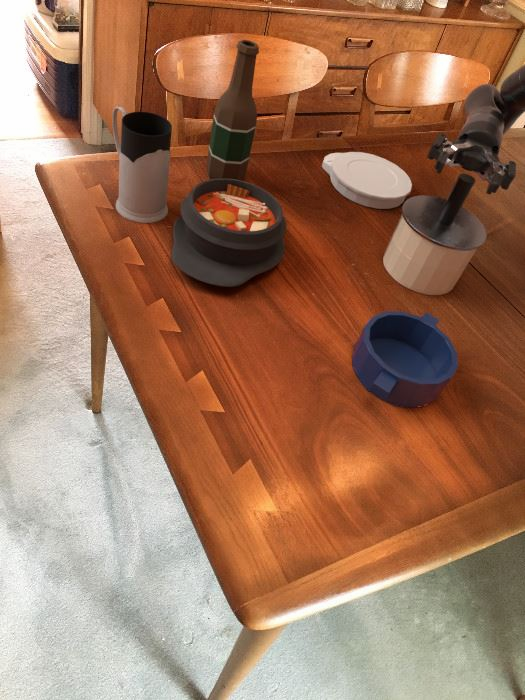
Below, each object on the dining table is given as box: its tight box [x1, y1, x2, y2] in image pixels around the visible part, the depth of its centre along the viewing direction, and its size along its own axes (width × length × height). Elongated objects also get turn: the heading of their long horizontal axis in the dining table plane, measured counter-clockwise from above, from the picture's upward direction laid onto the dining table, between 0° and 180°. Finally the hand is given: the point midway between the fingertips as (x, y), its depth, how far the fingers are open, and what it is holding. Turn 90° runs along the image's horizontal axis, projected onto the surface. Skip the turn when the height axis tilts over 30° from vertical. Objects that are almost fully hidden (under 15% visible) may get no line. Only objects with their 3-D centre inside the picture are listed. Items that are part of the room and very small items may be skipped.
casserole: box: [170, 178, 287, 288], centre depth 89 cm, size 25×19×8 cm
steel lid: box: [401, 173, 488, 251], centre depth 90 cm, size 15×15×9 cm
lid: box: [321, 151, 413, 210], centre depth 116 cm, size 17×20×3 cm
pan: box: [351, 310, 459, 408], centre depth 79 cm, size 14×19×5 cm
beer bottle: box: [206, 39, 260, 181], centre depth 99 cm, size 8×8×24 cm
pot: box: [382, 214, 479, 296], centre depth 96 cm, size 14×14×10 cm
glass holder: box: [112, 106, 173, 224], centre depth 91 cm, size 9×14×15 cm, turn 39°
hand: (465, 178), depth 88 cm, fingers open, 8 cm apart
